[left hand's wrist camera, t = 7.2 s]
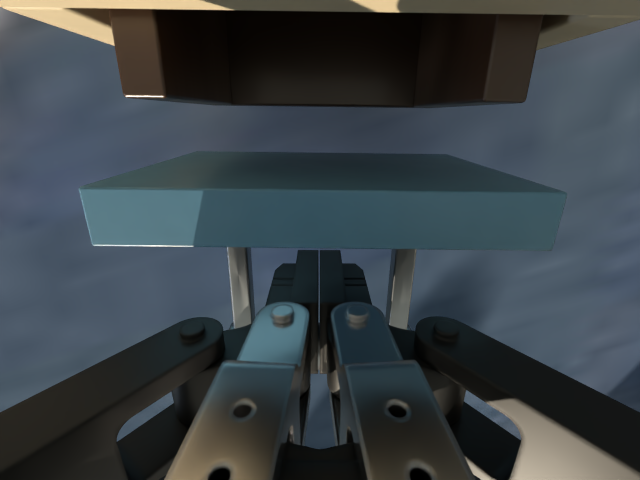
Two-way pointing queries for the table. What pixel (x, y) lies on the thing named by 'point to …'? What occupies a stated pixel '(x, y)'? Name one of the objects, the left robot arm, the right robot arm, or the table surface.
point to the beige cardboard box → (555, 3)
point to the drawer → (323, 168)
